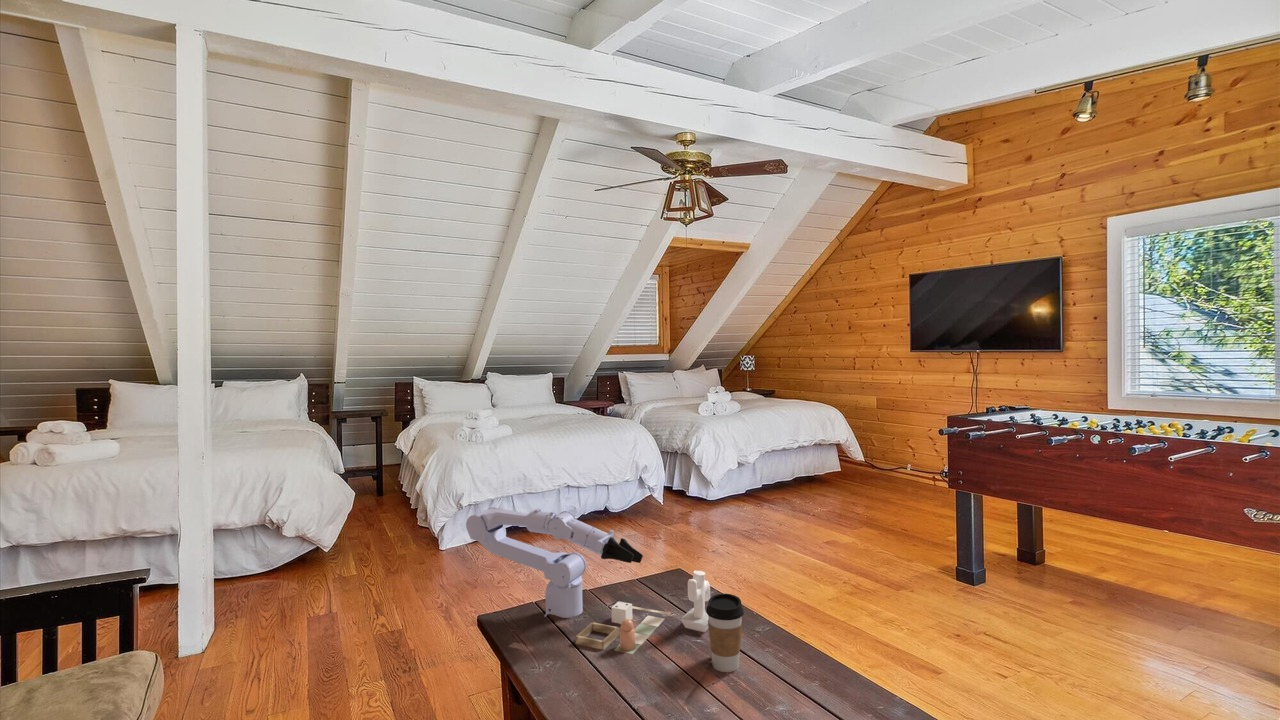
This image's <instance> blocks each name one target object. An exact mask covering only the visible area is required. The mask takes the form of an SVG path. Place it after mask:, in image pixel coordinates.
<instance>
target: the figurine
mask: <svg viewBox="0 0 1280 720" xmlns="http://www.w3.org/2000/svg"><path fill="white" fill-rule="evenodd" d="M687 597H688V599H689V601H690V602H693V607H692V608H691V609H689V610H688V611H687V612H686V613H685V614H684V615H683V616H682V617H680V621H681V623H682V624H683V627H684V628H685V629H690V630H692V631H696V632H702V633H706V632H707V631H709V627H708V615H707V613H706V608H705V607H706V605H705V604H706V603H705V602H709V599H710V598H711V585H710V582H709V581H708V580H706V572H705V571H701V570H694V571H693V572H692V578H689V579H688V581H687Z"/></svg>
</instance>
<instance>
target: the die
mask: <svg viewBox="0 0 1280 720" xmlns="http://www.w3.org/2000/svg"><path fill="white" fill-rule="evenodd" d="M632 606H633V603H629V602H623V601H617V602H616V603H615V604H614V605H612V607H610V608H611V609H610V610H611V623H614V624H619V625H621V623H622V621H623V620H625V619H630V620H631V621H632V620H633V608H632Z"/></svg>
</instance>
